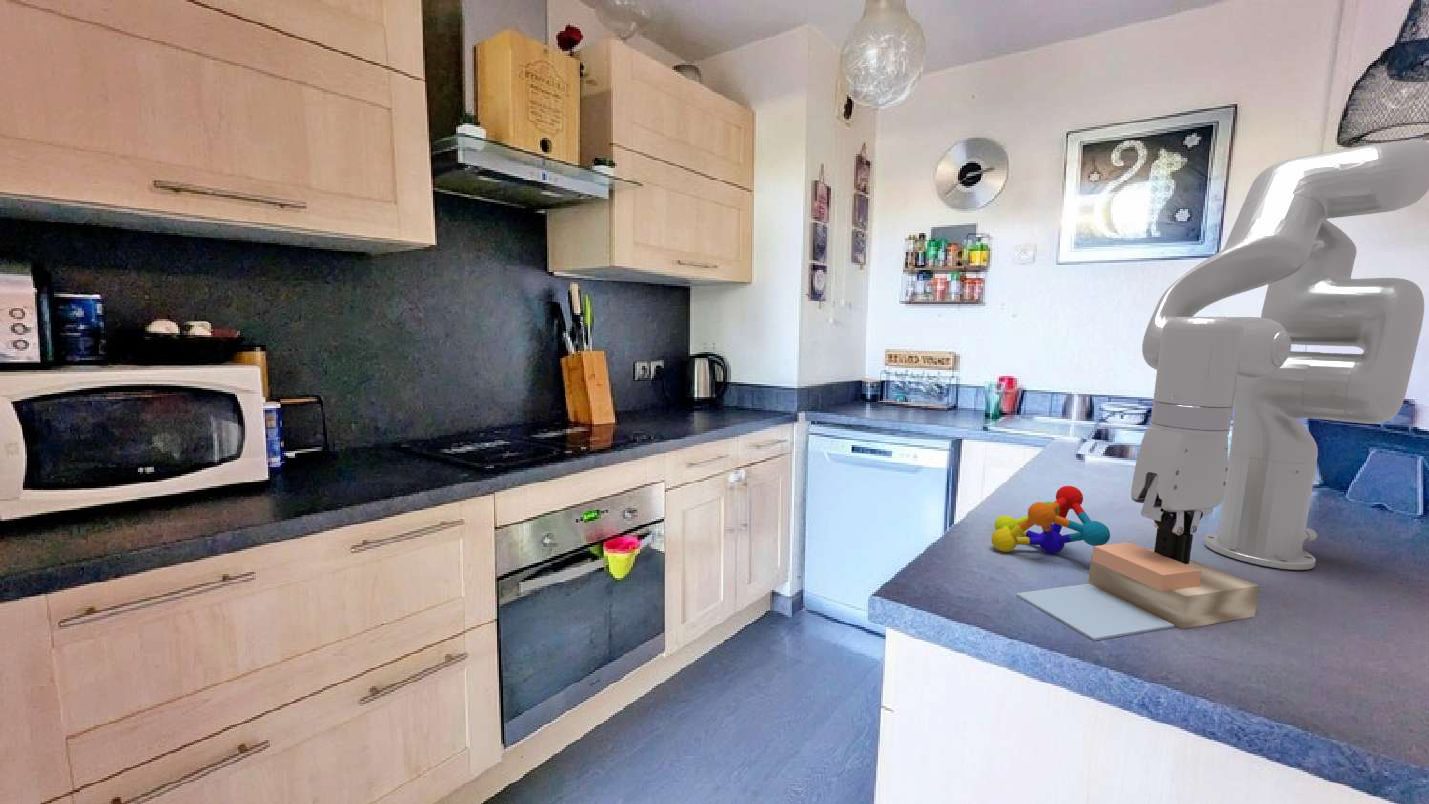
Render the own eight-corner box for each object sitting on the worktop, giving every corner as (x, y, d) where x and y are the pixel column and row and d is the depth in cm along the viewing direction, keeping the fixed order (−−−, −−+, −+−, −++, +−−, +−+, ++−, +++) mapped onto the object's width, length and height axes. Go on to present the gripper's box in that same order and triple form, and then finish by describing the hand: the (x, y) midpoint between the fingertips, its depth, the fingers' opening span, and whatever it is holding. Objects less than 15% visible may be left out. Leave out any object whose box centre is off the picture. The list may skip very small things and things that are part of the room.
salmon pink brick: (1127, 556, 76) (1128, 542, 76) (1199, 586, 68) (1201, 570, 67) (1092, 560, 75) (1093, 546, 74) (1161, 591, 66) (1163, 575, 66)
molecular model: (1011, 585, 84) (1122, 554, 79) (984, 525, 84) (1094, 491, 79) (993, 548, 98) (1086, 520, 93) (970, 497, 98) (1062, 467, 93)
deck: (1154, 574, 80) (1158, 547, 80) (1254, 616, 69) (1259, 585, 68) (1088, 583, 77) (1091, 555, 76) (1181, 629, 66) (1186, 596, 65)
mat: (1088, 585, 76) (1088, 583, 76) (1174, 627, 66) (1174, 624, 66) (1016, 595, 73) (1016, 593, 73) (1093, 640, 63) (1094, 638, 63)
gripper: (1200, 412, 75) (1182, 544, 78) (1114, 415, 71) (1098, 554, 74) (1268, 422, 68) (1246, 567, 71) (1177, 425, 64) (1157, 579, 66)
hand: (1170, 560), depth 72 cm, fingers closed
